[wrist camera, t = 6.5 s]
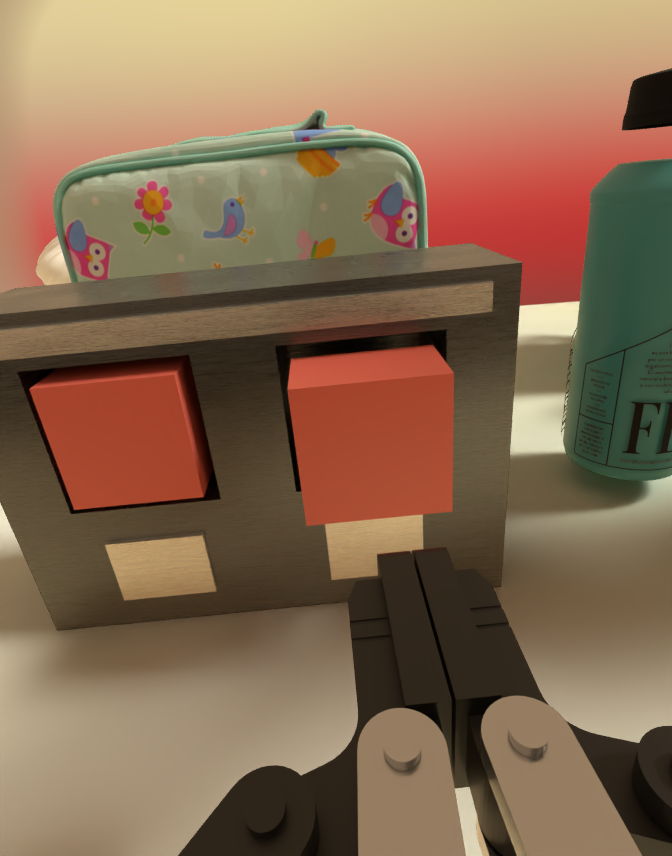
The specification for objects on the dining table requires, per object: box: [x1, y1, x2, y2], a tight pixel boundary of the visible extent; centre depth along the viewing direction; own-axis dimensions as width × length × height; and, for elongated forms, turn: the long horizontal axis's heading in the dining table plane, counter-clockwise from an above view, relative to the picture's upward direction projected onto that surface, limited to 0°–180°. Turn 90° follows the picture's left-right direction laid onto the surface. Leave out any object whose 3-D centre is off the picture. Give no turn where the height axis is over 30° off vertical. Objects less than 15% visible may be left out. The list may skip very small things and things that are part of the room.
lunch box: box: [53, 109, 428, 283], centre depth 40 cm, size 27×10×21 cm, turn 90°
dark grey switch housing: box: [0, 243, 522, 630], centre depth 23 cm, size 20×6×14 cm, turn 92°
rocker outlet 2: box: [288, 345, 454, 526], centre depth 19 cm, size 5×5×5 cm
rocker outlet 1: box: [29, 355, 214, 510], centre depth 21 cm, size 5×5×5 cm
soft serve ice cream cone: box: [36, 235, 71, 285], centre depth 56 cm, size 8×8×16 cm
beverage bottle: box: [561, 68, 672, 481], centre depth 26 cm, size 6×7×20 cm
